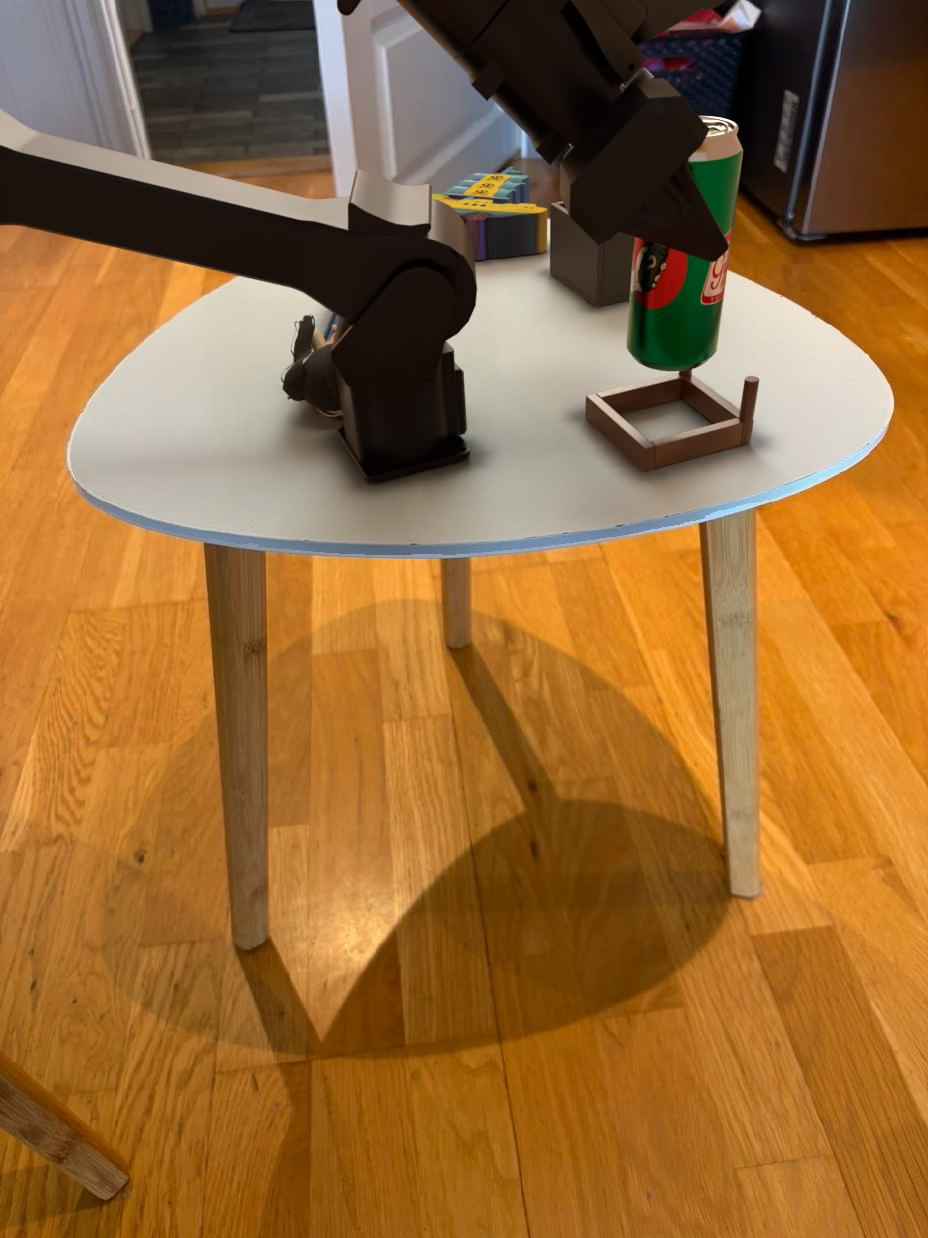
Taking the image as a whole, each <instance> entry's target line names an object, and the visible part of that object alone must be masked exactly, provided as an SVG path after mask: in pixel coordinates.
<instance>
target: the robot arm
mask: <svg viewBox="0 0 928 1238" xmlns="http://www.w3.org/2000/svg"><path fill="white" fill-rule="evenodd" d="M362 1H363V0H336V8H337V11H338V12H339V13H340V15H342V16H345V17H347V16H351V15H353V13H354V12H355V11H356V9H357V8H358V6H359V5H360V4H361V2H362ZM395 1H396V2H397V3H398V4H399V5H400V6H401V7H402V8H403V9H404V10H405V11H406V12H407V14H409V16H410V17H412V18H413V19H414V21H415V22H416V23H418V25H419V26H420V27H421V28H423V30H424V31H425V32H426V33H427V34H428V35H429V36H430V37H431V38H432V39H433V40H434V41H435V42H436V43H437V44H438V45H439V46H440V47H441V48H442V49H443V50H444V51H445V52H446V53H447V54H448V55H449V56H450V57H451V59H452V60H453V61H454V62H456V64H457V65H458V66H459V67H460V68H461V69H462V70H463V71H464V72H465V73H466V74H467V75H468V79H469V82H470V85H471V87H472V88H473V89H474V90H475V91H476V92H477V93H478V94H479V95H480V96H481V97H482V98H483V99H484V100H485V101H486V102H488V101H489V100H492V101H493V102H494V103H495V104H496V105H497V106H498V107H499V108H500V109H501V110H502V111H503V112H504V113H505V114H506V115H507V116H508V117H509V118H510V119H511V120H512V121H513V123H515V124H516V125H517V126H518V127H519V128H520V130H522V131H523V132H524V133H525V134H526V135H527V137H529V138H530V141H531V144H532V146H533V148H534V151H535V152H536V153H537V154H538V155H539V156H540V157H541V158H542V159H543V160H544V161H545V162H546V163H547V164H548V165H549V166H551V165H552V164H553V163H554V162H555V160H556V159H557V158H558V157H559V156H560V155H561V153H562V152H564V150H565V149H566V148H567V147H568V146H569V148H568V150H567V151H566V152H565V154H564V156H563V158H562V160H561V161H560V163H559V195H560V197H561V200H562V201H563V202H564V205H565V207H566V209H567V212H568V214H569V216H570V218H571V219H572V220H573V221H574V222H575V223H576V224H577V225H578V226H579V227H580V228H581V229H582V230H583V231H584V232H585V233H586V234H587V235H588V236H589V237H590V238H591V239H592V240H593V241H594V242H595V243H596V244H597V245H601V244H603V243H605V242H607V241H609V240H611V239H612V237H613V236H614V235H615V234H616V233H617V232H619V233H623V234H626V235H629V236H633V237H636V238H640V239H643V240H646V241H649V242H652V243H655V244H659V245H662V246H665V247H668V248H671V249H674V250H677V251H680V252H683V253H686V254H689V255H692V256H694V257H697V258H700V259H703V260H706V261H709V262H715V261H717V260H718V259H719V258H720V257H721V256H722V255H723V254H724V253H725V252H726V251H727V250H728V248H729V244H728V242H727V240H726V238H725V236H724V235H723V233H722V231H721V229H720V227H719V225H718V223H717V222H716V220H715V218H714V216H713V214H712V212H711V210H710V209H709V207H708V205H707V203H706V201H705V199H704V197H703V195H702V194H701V192H700V190H699V188H698V186H697V184H696V182H695V180H694V178H693V177H692V175H691V173H690V171H689V168H688V160H689V157H690V156H691V155H692V154H693V153H694V152H695V151H696V150H697V149H698V148H699V147H700V146H701V145H702V144H703V142H704V140H705V138H706V136H707V134H708V132H709V130H710V129H709V127H708V126H707V125H706V124H705V123H704V122H703V120H702V119H701V118H700V117H699V116H700V115H699V114H698V113H697V112H696V111H695V110H694V108H693V107H692V106H691V105H690V103H689V102H687V99H685V98H684V97H683V96H682V95H681V93H679V92H678V90H676V88H675V87H673V86H672V85H671V84H670V82H668V81H667V80H666V79H665V78H662V77H660V78H655V76H654V75H653V74H652V73H651V72H650V71H649V70H648V69H647V68H646V67H643V68H641V67H642V66H643V65H644V64H645V63H646V62H647V61H648V57H647V56H646V55H645V54H644V53H643V52H642V50H641V49H640V48H639V47H638V46H637V45H640V44H644V43H647V42H649V41H650V40H652V39H654V38H656V37H658V36H659V35H662V33H664V32H666V31H668V30H670V29H671V28H673V27H674V26H676V25H678V24H680V23H681V22H683V21H685V20H687V19H688V18H690V17H692V16H693V15H695V14H697V13H698V12H700V11H702V10H705V11H711V10H713V9H715V8H717V7H719V6H720V5H721V4H723V3H724V2H726V1H727V0H395ZM624 82H627V83H626V84H624ZM432 193H433V186H432V185H431V184H430V183H425V184H417V185H408V184H400V183H398V182H394V181H391V180H389V179H387V178H384V177H382V176H380V175H378V174H376V173H374V172H372V171H371V172H370V171H367V170H364V169H357V170H356V171H355V172H354V177H353V181H352V186H351V191H350V194H349V196H339V197H329V198H309V197H304V196H299V195H296V194H291V193H288V192H283V191H279V190H275V189H272V188H267V187H264V186H263V187H262V186H259V185H255V184H251V183H247V182H242V181H239V180H235V179H231V178H226V177H222V176H218V175H214V174H210V173H207V172H202V171H199V170H194V169H190V168H186V167H182V166H177V165H173V164H170V163H165V162H161V161H159V160H158V161H157V160H153V159H150V158H145V157H141V156H137V155H133V154H129V153H125V152H120V151H117V150H113V149H108V148H105V147H101V146H96V145H93V144H89V143H88V144H87V143H85V142H80V141H77V140H72V139H68V138H64V137H60V136H56V135H51V134H48V133H44V132H41V131H38V130H35V129H33V128H31V127H29V126H27V125H25V124H24V123H22V122H20V121H19V120H17V119H16V118H15V117H14V116H11V114H9V113H7V112H6V111H5V110H3V109H2V108H0V227H1V226H15V227H16V226H18V227H23V228H29V229H32V230H36V231H37V230H38V231H42V232H46V233H51V234H54V235H60V236H64V237H68V238H73V239H77V240H80V241H86V242H89V243H94V244H98V245H102V246H107V247H112V248H115V249H120V250H124V251H129V252H133V253H137V254H142V255H145V256H151V257H156V258H158V259H159V258H160V259H164V260H167V261H173V262H177V263H180V264H181V263H182V264H184V265H185V264H186V265H189V266H194V267H199V268H203V269H206V270H207V269H208V270H212V271H216V272H220V273H224V274H230V275H234V276H238V277H242V278H247V279H252V280H255V281H259V282H264V283H269V284H273V285H276V286H280V287H281V286H282V287H285V288H290V289H293V290H296V291H298V292H300V293H302V294H304V295H306V296H307V297H309V298H310V299H312V300H314V301H315V302H317V303H318V304H319V305H320V306H322V307H324V308H326V309H327V310H329V312H331V313H332V314H333V313H334V314H336V315H337V316H338V321H337V326H336V331H335V336H334V341H333V346H332V351H331V358H332V360H333V361H334V363H335V369H336V376H337V383H338V389H339V396H340V402H341V409H342V415H341V416H342V420H343V426H342V425H341V426H340V427H338V428H337V433H338V438H339V439H340V441H341V442H342V444H343V446H344V447H345V449H346V451H347V452H348V454H349V456H350V457H351V459H352V460H353V462H354V463H355V465H356V467H357V468H358V471H360V473H361V475H362V477H363V478H364V480H365V481H366V482H368V483H378V482H382V481H386V480H389V479H393V478H397V477H400V476H401V477H402V476H405V475H409V474H414V473H416V472H420V471H425V470H428V469H432V468H436V467H439V466H444V465H449V464H451V463H457V462H459V461H463V460H467V459H470V457H471V446H469V444H468V443H467V442H466V441H465V439H464V438H463V437H462V435H466V432H467V431H468V424H467V423H468V421H467V406H466V405H467V404H466V389H465V387H466V386H465V372H464V370H463V369H462V368H461V367H460V365H458V364H457V363H456V362H455V361H456V360H455V349H454V348H453V346H451V345H450V343H449V341H448V340H450V339H451V338H453V337H455V336H457V335H458V334H459V333H460V332H461V331H462V330H463V329H464V328H465V326H466V325H467V324H468V323H469V321H470V320H471V317H472V315H473V313H474V311H475V308H476V305H477V297H478V296H477V294H478V283H477V282H478V281H477V273H476V272H477V271H476V270H477V269H476V260H475V257H474V247H473V243H472V238H471V234H470V231H469V230H468V228H467V226H466V225H465V223H464V221H463V219H462V218H461V217H460V215H459V213H458V212H457V211H456V210H454V209H453V208H452V207H451V206H449V205H448V204H446V203H443V202H441V201H439V200H437V199H432ZM447 341H448V342H447Z"/></svg>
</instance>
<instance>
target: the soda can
mask: <svg viewBox="0 0 928 1238" xmlns="http://www.w3.org/2000/svg"><path fill="white" fill-rule="evenodd" d="M698 116H699V117H700V118H701V119H702V120H703V122H704V123H705V124H706V125H707V126H708V127H709V129H710V130H709V132H708V134H707V136H706V138H705V140H704V142H703V144H702V145H701V146H700V147H699V148H698V149H697V150H696V151H695V152H694V153H693V154H692V155H691V156H690V157H689V160H688V168H689V171H690V173H691V175H692V177H693V178H694V180H695V182H696V184H697V186H698V188H699V190H700V192H701V194H702V195H703V197H704V199H705V201H706V203H707V205H708V207H709V209H710V210H711V212H712V214H713V216H714V218H715V220H716V222H717V223H718V225H719V227H720V229H721V231H722V233H723V235H724V236H725V238H726V240H727V242H728V244H729V248H728V250H727V251H726V252H725V253H724V254H723V255H722V256H721V257H720V258H719V259H718V260H717V261H715V262H709V261H706V260H703V259H700V258H697V257H694V256H692V255H689V254H686V253H683V252H680V251H677V250H674V249H671V248H668V247H665V246H662V245H659V244H655V243H652V242H649V241H646V240H643V239H640V238H636V237H634V240H633V255H632V270H631V285H630V300H628V301H629V302H628V315H627V316H628V317H627V332H626V349H627V351H628V352H629V354H630V355H631V357H632V358H633V359H634V360H635V361H636V363H638V364H640V365H642V366H643V367H645V368H648V369H650V370H651V369H652V370H656V371H661V372H679V371H685V370H690V369H692V370H694V369H697V368H699V367H701V366H703V365H704V364H705V363H707V362H708V361H709V360H710V359H711V358H712V357H713V356H714V355H715V354H716V352H717V351H718V350H717V349H718V344H719V337H720V330H721V329H720V328H721V322H722V315H723V306H724V299H725V292H726V291H725V290H726V283H727V277H728V276H727V275H728V270H729V260H730V253H731V246H732V239H733V231H734V224H735V223H734V222H735V215H736V209H737V203H738V202H737V201H738V193H739V185H740V178H741V172H742V171H741V170H742V162H743V155H744V149H743V146H742V144H741V141H740V140H739V137H738V135H737V134H738V132H739V125H738V123H736V122H735V121H733V120H730V119H727V118H723V117H719V116H710V115H698Z"/></svg>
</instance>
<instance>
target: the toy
mask: <svg viewBox="0 0 928 1238" xmlns="http://www.w3.org/2000/svg"><path fill="white" fill-rule="evenodd" d="M432 199H437V200H439V201H441V202H443V203H446V204H448V205H449V206H451V207H452V208H453V209H454V210H456V211H457V212H458V213H459V215H460V217H461V218H462V219H463V221H464V223H465V225H466V226H467V228H468V230H469V231H470V234H471V238H472V243H473V247H474V257H475V261H485V260H487V259H491V258H492V259H493V258H495V259H498V258H499V259H500V258H509V257H511V258H512V257H517V256H526V255H527V256H528V255H535V254H541V253H544V252H546V251H547V250H548V208H546V207H542V206H537V204H536V203H530V176H529V175H525V174H524V172H522V171H519V170H515V167H514V166H509V167H506V169H504V170H503V171H502V172H500V173H496V172H482V171H477V172H475V173H471V174H469V175H468V176H467V177H466V178H462V179H461V180H459V181H457V182H456V184H453V185H451V186H450V187H449V188H447V189H446V190H445V192H444V191H443V192H439V193H435V192H432Z"/></svg>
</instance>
